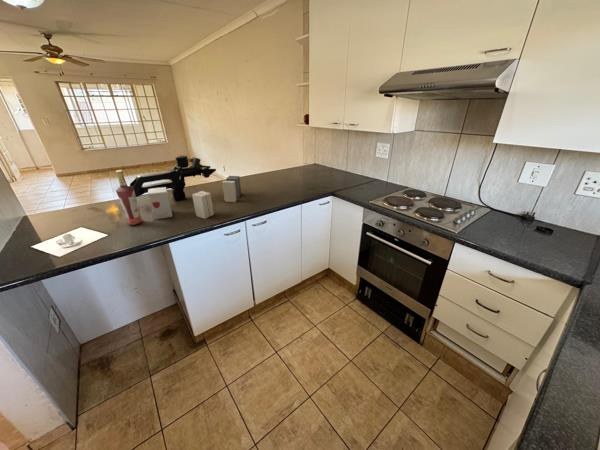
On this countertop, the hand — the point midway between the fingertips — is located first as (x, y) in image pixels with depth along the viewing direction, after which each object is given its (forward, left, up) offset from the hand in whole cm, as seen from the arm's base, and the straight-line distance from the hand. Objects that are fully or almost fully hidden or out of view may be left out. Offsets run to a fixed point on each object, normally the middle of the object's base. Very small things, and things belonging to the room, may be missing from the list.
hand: (213, 168), depth 168 cm
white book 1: (-24, -35, -17) cm, 46 cm away
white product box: (-40, -20, -17) cm, 48 cm away
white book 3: (-1, -23, -17) cm, 29 cm away
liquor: (-54, -22, -17) cm, 61 cm away
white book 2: (-21, -34, -16) cm, 43 cm away
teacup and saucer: (-80, -23, -17) cm, 85 cm away
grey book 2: (+7, -15, -16) cm, 24 cm away
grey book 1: (+5, -18, -16) cm, 25 cm away
